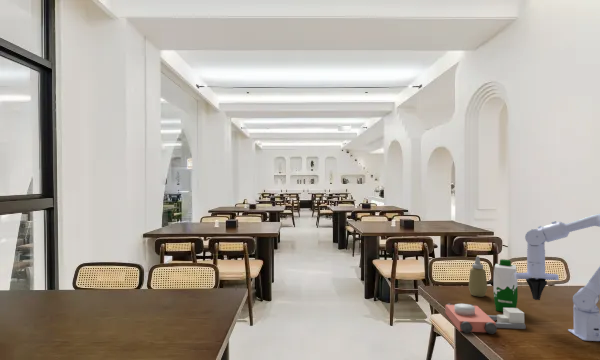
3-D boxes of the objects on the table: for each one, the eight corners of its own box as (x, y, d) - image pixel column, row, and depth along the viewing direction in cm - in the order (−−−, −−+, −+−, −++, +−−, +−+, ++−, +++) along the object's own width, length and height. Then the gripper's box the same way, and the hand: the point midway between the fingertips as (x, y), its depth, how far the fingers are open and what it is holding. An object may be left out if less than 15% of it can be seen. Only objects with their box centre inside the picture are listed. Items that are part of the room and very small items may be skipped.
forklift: (534, 335, 136) (534, 318, 136) (460, 332, 139) (460, 315, 139) (507, 314, 159) (507, 299, 159) (444, 312, 162) (444, 297, 162)
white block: (524, 327, 145) (524, 313, 145) (502, 326, 145) (502, 312, 146) (517, 321, 151) (517, 308, 151) (495, 320, 151) (495, 307, 152)
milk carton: (517, 308, 167) (517, 260, 168) (517, 314, 159) (517, 263, 160) (494, 305, 171) (493, 258, 172) (493, 311, 163) (493, 261, 164)
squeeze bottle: (464, 294, 190) (464, 255, 190) (477, 292, 193) (476, 254, 193) (478, 298, 182) (478, 258, 183) (491, 296, 186) (491, 257, 186)
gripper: (551, 260, 151) (551, 296, 150) (510, 259, 152) (511, 295, 152) (561, 263, 144) (561, 302, 143) (518, 263, 145) (519, 300, 145)
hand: (536, 299), depth 147 cm, fingers closed
